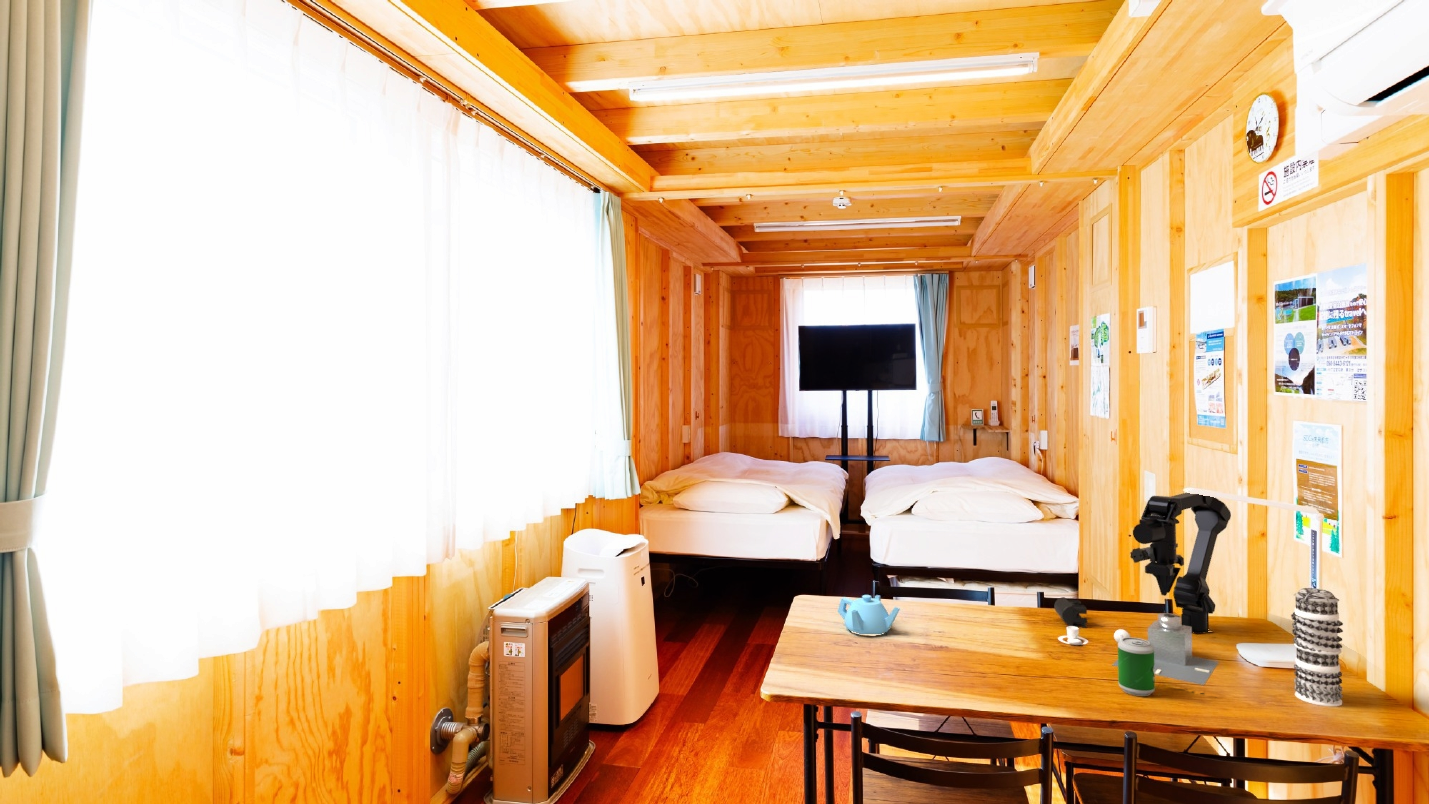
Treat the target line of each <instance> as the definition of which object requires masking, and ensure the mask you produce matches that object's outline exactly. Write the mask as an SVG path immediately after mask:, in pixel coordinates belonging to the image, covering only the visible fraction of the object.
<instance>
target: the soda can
mask: <svg viewBox="0 0 1429 804" xmlns="http://www.w3.org/2000/svg"><path fill="white" fill-rule="evenodd" d="M1117 660H1118V667H1117V669H1118V671H1117V674H1118V676H1117V677H1118V678H1117V679H1118V685H1119V687H1120V688H1121V689H1122V691H1123V692H1125V693H1126V694H1129V695H1131V696H1137V697H1148V696H1150V695H1151V694H1152V693H1154V692H1155V690H1156V689H1155V688H1156V684H1155V683H1156V682H1155V681H1156V680H1155V679H1156V677H1155V676H1156V675H1155V670H1154V648H1153V646H1152V645H1151V644H1150V643H1149V642H1148V640H1146V639H1143V638H1139V637H1131V636H1130V637H1127V638H1123V639H1122V640H1121V641H1119V642H1117Z"/></svg>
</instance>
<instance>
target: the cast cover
mask: <svg viewBox="0 0 1429 804" xmlns="http://www.w3.org/2000/svg"><path fill="white" fill-rule="evenodd" d="M1192 635H1193V633H1192V627H1190V626H1185V625H1182V624H1181V616H1180V615H1177V614H1175V613H1169V612H1166V613H1165V612H1162V613H1161V612H1160V613H1158V614H1157V620H1154V621H1153V622H1152V623H1151V624H1150V625H1149V626H1148V627H1147V641H1148V642H1149V643H1150V644H1151V645H1152V646H1153V648H1154V659H1155V660H1159V661H1164V662H1169V663H1174V664H1179V665H1184V666H1186V664H1187V663H1188V662H1189V660H1190V659H1191V658H1192V656H1193V638H1192V637H1193V636H1192Z"/></svg>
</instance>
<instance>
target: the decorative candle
mask: <svg viewBox="0 0 1429 804" xmlns="http://www.w3.org/2000/svg"><path fill="white" fill-rule="evenodd" d="M1293 596H1294V597H1295V607H1294V612H1292V614H1290V617H1291V619H1292V620H1293V622H1292V623H1291V626H1292V634H1293V635H1294V638H1292V640H1293V646H1295V648H1296V656H1295V664H1294V665H1293V667H1294V669H1295V671H1294V676H1295V678H1294V679H1293V682H1294V684H1295V685H1294V686H1293V688H1294V691H1295V692H1294V696H1295V697H1296V698H1297V699H1299V700H1301V701H1303V702H1305V703H1310V704H1313V705H1317V706H1321V707H1330V708H1331V707H1333V708H1334V707H1340V706H1342V705H1343V700H1342V699H1343V693H1342V692H1343V686H1342V685H1340V684H1343V679H1342V678H1341V677H1343V673H1342V672H1341V664H1340V662H1339V661H1340V660H1339V658H1340V657H1339V655H1340V654H1342V648H1343V645H1342V643H1340V642H1342V641H1343V638H1342V637H1340V635H1338V634H1341V633H1343V632H1344V630H1343V629H1342V628H1341V627H1342V626H1343V625H1344V623H1343V621H1340V620H1339V619H1340V615H1339V614H1340V613H1339V611H1338V609H1339V606H1338V605H1339V604H1338V602H1340V599H1339V598H1337V597H1336V596H1335V594H1333V593H1332V592H1331V591H1330V590H1326V589H1323V588H1322V589H1321V588H1313V587H1305V588H1301V589H1299V591H1298V592H1297V593H1296V592H1295V593H1293Z"/></svg>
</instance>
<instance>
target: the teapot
mask: <svg viewBox="0 0 1429 804" xmlns="http://www.w3.org/2000/svg"><path fill="white" fill-rule="evenodd" d="M872 596H873V595H869V594H864V595H861V597H859V598H856V599H854V600H853V599H851V598H848V597H846V596H843V597H841V598H840V601H839V605H838V608H837V613H838V614H839V615H840V616H841V617H842V619H843V620H844V626H845V628H846V629H847V630H848V629H849V630H850V631H853V632H856V633H859V634H882V633H885V632H886V633H888V632H889V630H890V628H891V627H892V625H893V624H894V621H895V619H896V618H897V615H898V613H899V611H901V609H900V607H896V606H894V607H893V609H892V611H891V612H890V613H888V611H887V609H886V607H885V605H884V603H882V601H881V595H878V594H876V595H874V598H872ZM847 605H848V606H849V607H848V609H847ZM849 630H848V631H849ZM850 631H849V632H850ZM886 633H885V634H886Z"/></svg>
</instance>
